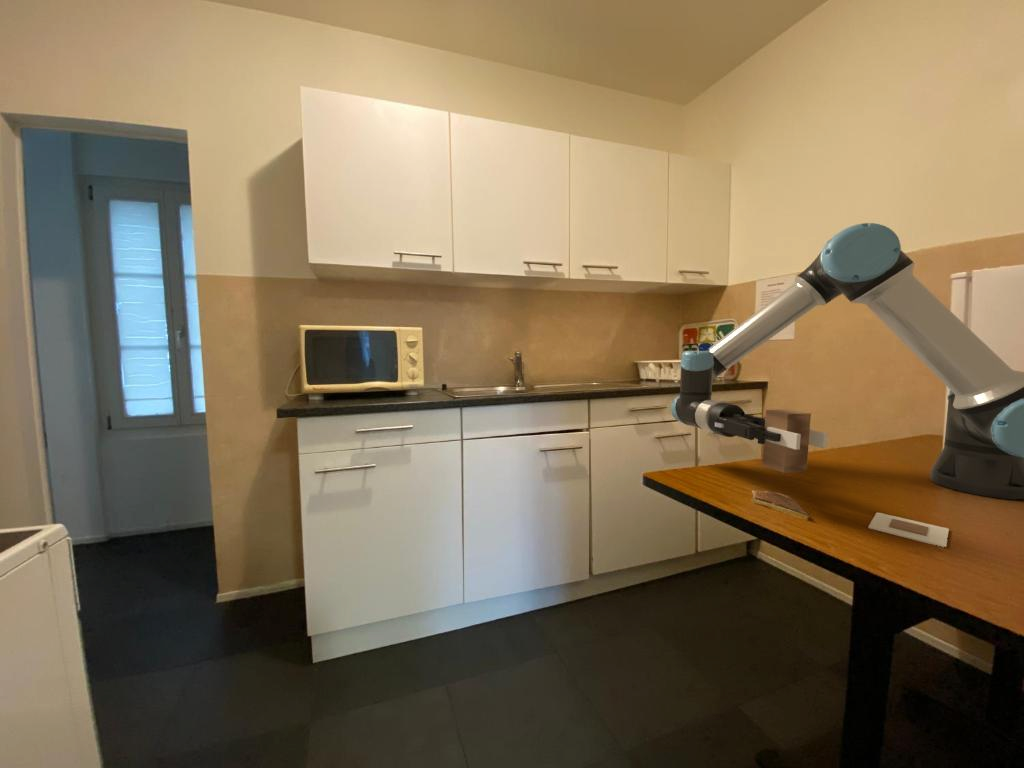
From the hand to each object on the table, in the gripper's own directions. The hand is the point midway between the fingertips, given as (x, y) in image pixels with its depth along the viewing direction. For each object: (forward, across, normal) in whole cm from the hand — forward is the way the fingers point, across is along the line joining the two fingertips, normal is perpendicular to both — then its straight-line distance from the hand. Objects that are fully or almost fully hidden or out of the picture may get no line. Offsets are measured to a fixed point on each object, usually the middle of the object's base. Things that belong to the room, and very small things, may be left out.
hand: (811, 441), depth 72 cm
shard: (-5, 0, -15) cm, 16 cm away
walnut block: (-5, 0, -6) cm, 8 cm away
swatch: (+8, -12, -14) cm, 20 cm away
